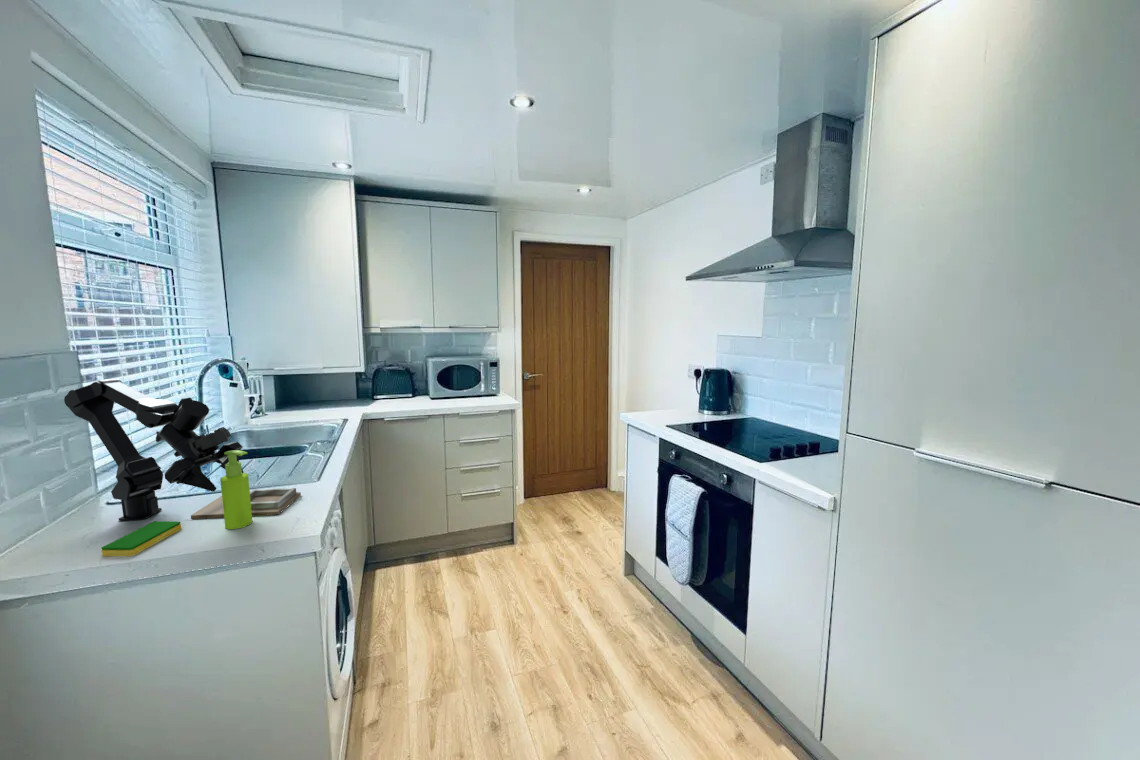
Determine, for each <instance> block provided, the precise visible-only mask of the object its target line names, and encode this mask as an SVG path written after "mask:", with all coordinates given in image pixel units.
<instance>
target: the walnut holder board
mask: <svg viewBox="0 0 1140 760" xmlns="http://www.w3.org/2000/svg"><path fill="white" fill-rule="evenodd" d="M300 495H301V491H298V492H297V488H296V487H291V488H290V487H285V488H262V489H252V490H251V491H250V500H251V510H252V515H265V516H273V515H272V514H279V513H280V512H281V511H282V510H283V511H285V510H286V509H287V508H288V507H289V506H290V505H292V504H293V503H294V502H295V501H296V500H297V499H298V498H299V497H301V496H300ZM294 500H295V501H294ZM293 501H294V502H293ZM292 502H293V503H292ZM289 504H290V505H289ZM288 505H289V506H288ZM287 506H288V507H287ZM286 507H287V508H286ZM285 508H286V509H285ZM284 509H285V510H284ZM283 511H282V512H283ZM282 512H281V513H282ZM281 513H280V514H281ZM280 514H279V515H280ZM222 517H223V518H224V511H223V501H222V495H220V496H219V497H218V498H215V499H214V500H212V501H211V502H210V503H208V504H206V505H205V506H203V507H202V508H200V509H198V510H197V511H196V512H194V513H192V514H190V519H191V520H194V519H195V520H196V519H200V520H201V519H219V518H222Z"/></svg>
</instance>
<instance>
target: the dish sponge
mask: <svg viewBox="0 0 1140 760" xmlns="http://www.w3.org/2000/svg"><path fill="white" fill-rule="evenodd" d="M181 523H182V522H181V521H173V520H172V521H166V520H165V521H164V520H163V521H162V520H161V521H151V522H150V523H148V524H146V525H144V526H142V527H140V528H138V529H135V530H133V531H132V532H130V533H128V534H126V535H124V536H122V537H120V538H118V539H116V540H114V541H112V542H110V543H107V544H106V545H104V546H102V547H101V556H102V557H132V556H135V555H137V554H139V553H140V552H142V551H145V550H147V549H148V548H150V547H151V546H153V545H155V544H157V543H159V542H161V541H162V540H164V539H166V538H167V537H169V536H171V535H173V534H175V533H176V532H178V531H180V530H182V524H181Z"/></svg>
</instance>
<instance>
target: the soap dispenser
mask: <svg viewBox="0 0 1140 760" xmlns="http://www.w3.org/2000/svg"><path fill="white" fill-rule="evenodd" d="M224 455H228V460H229V462H228V463H227V464H225V469H224V470H225V475H224V476H222V477H221V478H220V479H219V481H220V490H221V491H220V492H221V496H222V501H223V511H224V517H223V519H224V528H225V529H227V530H238V529H241V528H245V527H248V526H249V524H250V523H251V522H252V523H253V516H252V510H251V500H250V492H251V491H250V490H251V489H250V480H249V474H248V473H246V472H244V473H242V470H243V468H241V467H242V462H241V461H239V462H238V461H237V458H236V455H238V457H243V456H246V455H248V452H247V451H244V450H242V449H241V450H230V451H227V452H224ZM252 523H251V524H252ZM251 524H250V525H251ZM247 525H248V526H247ZM244 526H245V527H244Z"/></svg>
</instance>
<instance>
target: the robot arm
mask: <svg viewBox="0 0 1140 760" xmlns="http://www.w3.org/2000/svg"><path fill="white" fill-rule="evenodd" d="M63 400H64V401H63V402H64V404H65V406H66V407H67V408H68V409H69V410H70V411H71V412H72V413H73V414H74V416H75V417H78V418H80V419H82V420H84V421H88V422H89V424H90V426H91V427H92V429H93V430H94V431H95V432H96V435H97V436H98V438H99V439H100V441H101V442H102V444H103V445H104V446H105V448H106V451H108V453H109V455H110V456H111V457H112V459H113V461H114V462H115V463H116V465H117V470H116V475H115V478H116V481H117V483H116V484H115V485H114V487H113V488H112V489H111V491H110V493H111V496H112V498H113V499H114V500H119V501H121V502H120V503H121V509H122V516H121V517H118V521H135V520H136V521H139V520H140V521H141V520H146V519H148V518H149V517H151V516H153V515H155V514H158V512H160V511H162V507H159V502H158V496H156V491H158V490H161V489H162V484H163V480H164V479H165V480H166V481H167V482H168V483H169V484H170V485H172V484H174V483H176V484H178V485H181V484H182V485H187V486H192V487H195V488H200V489H201V490H202V489H203V490H206V491H210V492H216V491H217V487H216V485H215V484H214V483H213V482H212V481H211V480H210V479H209V478H208V477H207V476H206V475H205V474H204V472H203V471H202V468H201V467H202V466H205V465H207V464H210V463H213V462H215V463H217V464H219V465H220V466H219V467H220V468H222V469H224V470H225V464H227V463H228V462H229V460H228V455H224V452H227V451H230V450H241V451H242V449H243V447H244V446H243V445H242V444H240V442H238V441H231V442H229V443H227V442H228V441H230V439H229V438H231V436H232V435H231V432H230V430H228V429H227V428H226V427H225V426H222V427H219V428H216V429H215V430H213V432H211V433H208V434H206V435H205V434H200V435H198V434H197V433H196V432H195V430H197V429H198V428H199V427H200V425H201V424H202V422H203V421H204V420H205V418H206V417H207V416H208V415H209V413H210V408H209V406H208V405H207V404H205V403H203V402H201V401H198V400H193V399H192V398H191V396H189V397H184V398H181V399H180V400H179V403H178V404H176V402H174V401H171V400H167V399H159V398H152V397H150V396H148V395H146V394H144V393H142V392H140V391H139V390H136V389H134V388H133V387H131V386H129V385H127V384H125V383H124V382H122V380H121V379H117V378H111V379H110V378H109V379H100V380H97V381H94V382H92V383H91V384H89V385H85V386H83V387H80V388H77V389H72V390H71V389H70V391H68V392H67V394H66V395H65V396H64V399H63ZM115 404H118V405H119V406H121V407H123V408H125V409H126V410H128V411H130V412H132V413H133V414H135V418H136V421H138V422H139V423H140V424H142V425H143V426H144V427H147V428H148V429H152V428H153V429H154V428H157V427H162V428H161V429H160V430H157V431H156V436H155V442H156V443H161V442H163V441H164V442H166V443H167V444H168V445H169V446H170V447H171V448H172V449H173V450H174V451H175V452H174V453H173V456H175V457H176V458H178V457H182V458H181V459H178V460H176V461H174V462H173V463H172V464H171V465H170V466H169V468H168V469H167V470H166V471H165V472H163V470H161V469H162V467H161V466H159V464H158V463H157V461H156V459H155V458H154V457H153V456H147V457H144V456H142V455H141V453H140V452H139V451H138V450H137V447H135V445H134V443H133V442H132V440H131V439H130V437H129V436H128V435H127V433H126V432H125V430H124V429H123V427H122V425H121V423H120V422H119V420H118V419H117V418H116V416H115V415H114V413H113V409H114V406H115ZM223 443H225V444H223ZM221 444H223V445H222V446H221V447H220V445H221ZM218 449H219V450H218ZM216 450H217V452H216ZM236 458H237V461H238V462H240V460H239V456H238V455H236ZM241 468H242V466H241ZM242 473H245V472H244V470H243V468H242Z"/></svg>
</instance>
